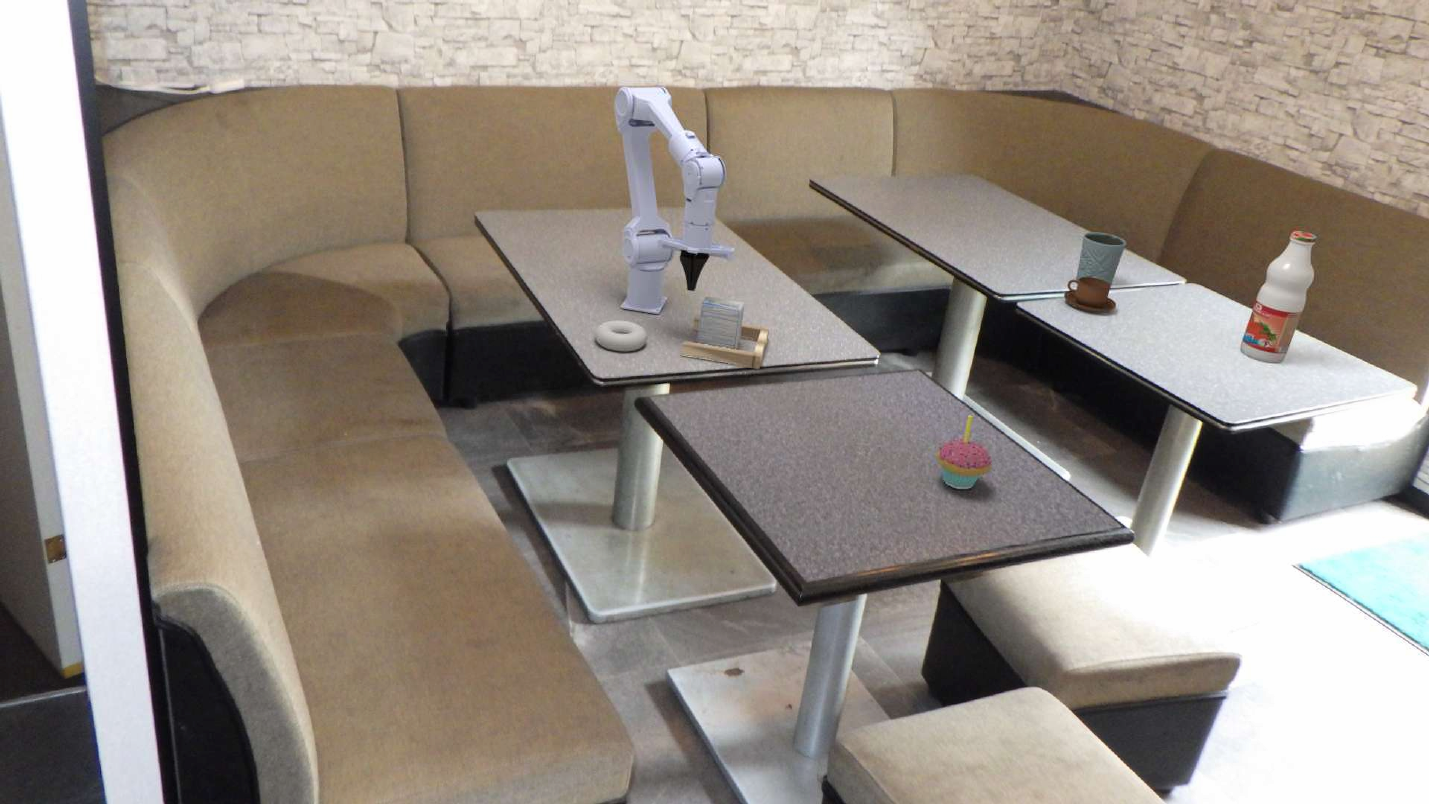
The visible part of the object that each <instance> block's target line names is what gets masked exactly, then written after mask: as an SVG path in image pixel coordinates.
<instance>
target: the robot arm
mask: <svg viewBox="0 0 1429 804" xmlns="http://www.w3.org/2000/svg"><path fill="white" fill-rule="evenodd" d="M672 102H673V99H672V96H671V95H670V93H669V91H668V90H667V88H665V87H664V86H657V87H651V86H650V87H646V86H645V87H629V86H622V87H620V88H619V89H618V91H617V92H616V96H615V98H614V101H613V108H614V116H615V123H616V129H617V132H618V133H620V134H621V136H622V137H621V138H622V146H623V152H624V160H625V167H626V168H625V169H626V176H627V181H628V182H627V185H628V190H629V198H630V205H631V213H632V219H631V220H630V221H629V223H627V224H626V225H625V226H624V228H623V229H622V231H621V233H622V236H621V237H622V243H621V254H622V258H623V260H624V262H626V264H627V265H628V266H629V267H628V278H627V279H628V281H627V291H626V298H625V299H624V301H623V302H622V303H621V305H620V308H621V309H623V310H628V311H629V310H631V311H636V312H641V313H642V312H643V313H648V314H655V315H659V314H660V313H661V310H662V309H663V308H664V305H665V304H666V302H667V301H668V300H667V299H668V297H667V296H664V286H665V284H664V283H665V275H666V267H667V268H668V267H669V263H670V262H671V261H672V260H673V259H674V258H675V255H676V251H677V252H680V255H679V261H680V263H681V266H682V269H683V271H684V276H685V280H686V281H685V282H686V288H687V289H686V290H687V291H691V292H695V291H696V288H697V284H698V281H699V277H700V275H701V272H702V271H703V268H704V267H705V265H706V263H707V261H708V260H709V259H710V257H715V258H721V259H726V260H728V261H731V262H732V261H733V259H734V256H735V247H730V246H727V245H723V244H719V243H715V242H713V241H712V240H713V235H714V232H713V231H714V225H715V223H714V222H715V216H716V208H717V207H716V206H717V199H718V198H717V197H718V189H721V188H722V187H723V185H724V184H725V182H726V177H727V170H726V165H725V163H724V160H722V158H721V156H718V155H714V154H711V153H710V152H708V151H707V150H706V148H705V147H704V145H703V144H702V143H701V141H700V140H699V139H698V137H697V136H696V133H694V131H691V130H689V129H688V130H686V129H684V128H683V126H682V124H681V123H680V121H679V119H678V118H677V115H676V114H675V113H674V110H673V108H672V106H673V103H672ZM657 130H659V132H660V133H661V134H662V135H663V136H664V137H665V138H666V139H667V140H668V146H667V149H668V152H669V153H670V155H671V156H672V157H673V159H674V161H675V162H676V163H677V165H678V166H679V167H680V169H681V178H682V183H683V195H684V197H685V202H684V203H685V204H684V213H683V221H682V222H683V224H682V233H681V237H674V236H673V234H672V231H671V225H670V223H668V222H667V221H665V219H663V218H661V217H660V216H659V211H658V210H659V209H658V205H657V204H658V202H657V196H656V187H655V180H654V173H653V165H652V158H651V157H652V156H651V150H650V143H649V138H650V136H651V134H652V133H654V132H655V131H657ZM648 232H650V233H648Z"/></svg>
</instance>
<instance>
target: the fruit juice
mask: <svg viewBox="0 0 1429 804" xmlns="http://www.w3.org/2000/svg"><path fill="white" fill-rule="evenodd" d="M1317 239H1318V238H1317V236H1316V235H1315V234H1312V233H1311V232H1307V231H1301V230H1293V231H1292V232H1291V234H1290V237H1289V244H1288V245H1287V247H1286V248H1285V249H1284V251H1283V252H1282V253H1281V254H1280V255H1279V256H1278V257H1276V258H1275V259H1274V260H1273V261H1272V262H1270V263H1269V265H1268V267H1267V270H1266V280H1265V282H1264V284H1263V285H1262V286H1261V287H1260V289H1259V291H1258V294H1257V296H1256V300H1255V302H1254V304H1253V305H1254V306H1253V308H1252V310H1251V314H1250V316H1249V319H1248V323H1247V325H1246V328H1245V330H1244V333H1243V337H1242V340H1241V342H1240V345H1239V346H1240V348H1239V349H1240V352H1242V353H1243V354H1244V355H1245V356H1247V357H1249V358H1252V359H1253V360H1258V361H1261V362H1265V363H1269V364H1270V363H1272V364H1277V363H1282V362H1283V361H1284V360H1285V359H1286V356H1287V353H1288V351H1289V349H1290V345H1291V343H1292V340H1293V338H1294V335H1295V332H1296V329H1297V328H1298V327H1297V326H1298V324H1299V321H1300V318H1301V316H1302V313H1303V310H1304V308H1305V305H1306V302H1307V301H1306V300H1307V290H1309V287H1310V286H1311V285H1312V283H1313V281H1314V279H1315V278H1314V277H1315V271H1314V268H1313V265H1312V262H1311V261H1312V259H1311V256H1312V247H1313V246H1314V245H1315V243H1316V242H1317Z"/></svg>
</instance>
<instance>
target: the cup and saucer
mask: <svg viewBox="0 0 1429 804" xmlns="http://www.w3.org/2000/svg"><path fill="white" fill-rule="evenodd" d="M1072 283H1075V284H1077V285H1076V288H1072V286H1071V284H1072ZM1111 287H1112V284H1111V285H1110V284H1109V283H1108V282H1106V281H1104V280H1101V279H1097V278H1092V277H1081V278H1079V281H1078V280H1076V279H1071V280H1069V281H1068V283H1067V288H1068V290H1067V291H1065V292H1064V294H1063V297H1064V299H1065V300H1066V302H1067V303H1068V304H1069V305H1071V306H1073V307H1074V308H1077V309H1080V310H1083V311H1087V312H1092V313H1107V312H1108V313H1109V312H1111V311H1113V310H1114V309H1116V306H1117V303H1116V302H1115V301H1114V300H1113V299H1112V298H1109V293H1110V290H1111Z"/></svg>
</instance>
